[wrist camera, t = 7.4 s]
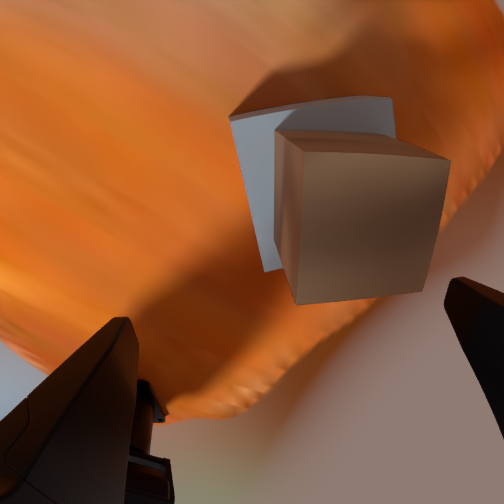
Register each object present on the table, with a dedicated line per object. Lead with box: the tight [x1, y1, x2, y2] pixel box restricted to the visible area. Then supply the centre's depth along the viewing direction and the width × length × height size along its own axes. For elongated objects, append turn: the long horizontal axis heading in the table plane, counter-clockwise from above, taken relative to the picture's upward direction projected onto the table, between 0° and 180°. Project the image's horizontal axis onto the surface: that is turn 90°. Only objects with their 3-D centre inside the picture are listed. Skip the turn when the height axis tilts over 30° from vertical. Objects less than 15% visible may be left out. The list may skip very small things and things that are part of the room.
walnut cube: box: [274, 130, 451, 305], centre depth 13 cm, size 6×6×6 cm
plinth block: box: [229, 95, 396, 272], centre depth 17 cm, size 8×8×4 cm
